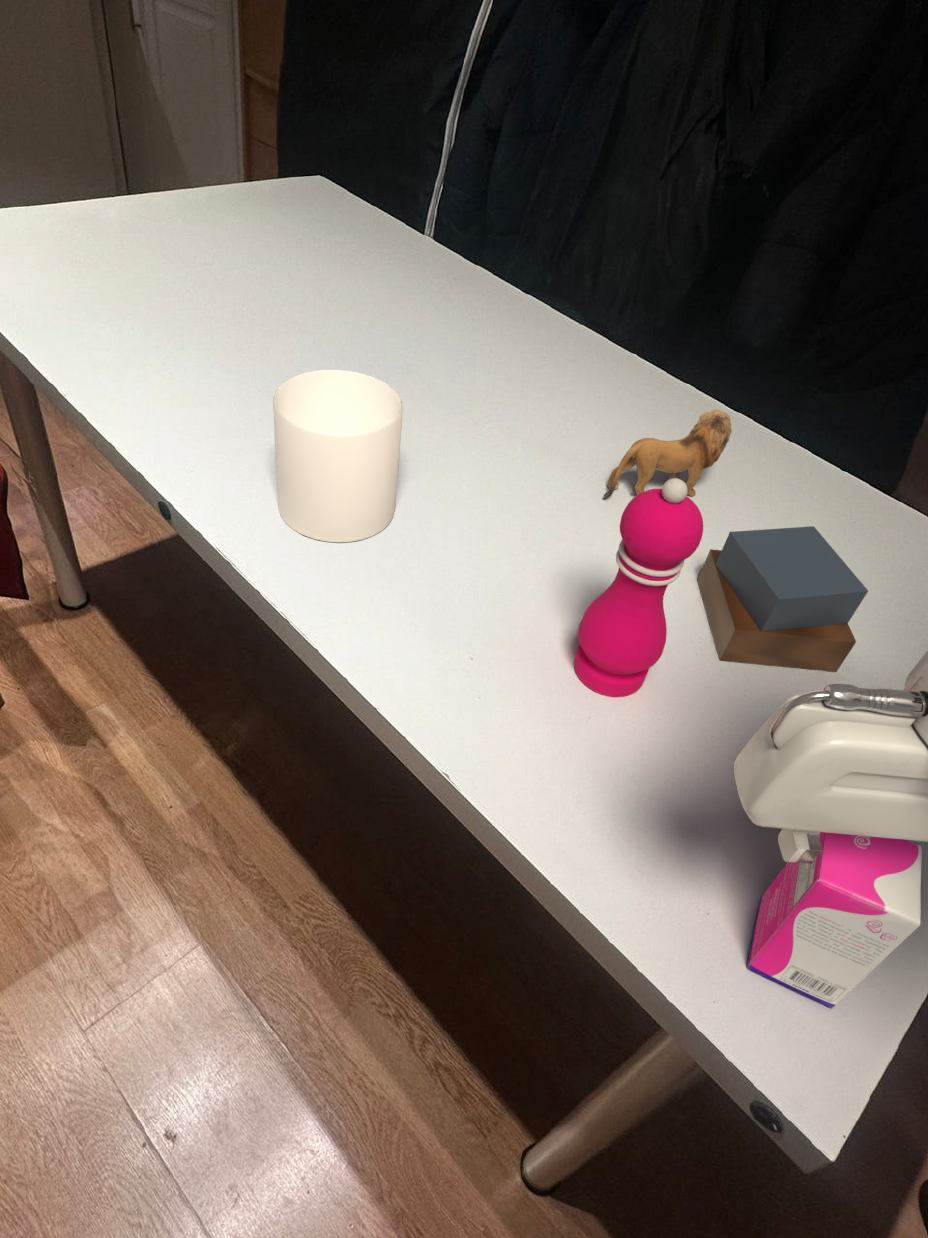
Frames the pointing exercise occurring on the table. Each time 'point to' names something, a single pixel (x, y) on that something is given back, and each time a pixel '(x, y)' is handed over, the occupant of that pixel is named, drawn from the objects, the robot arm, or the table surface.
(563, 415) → the table surface
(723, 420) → the lion figurine
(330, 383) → the cup
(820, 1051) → the table surface
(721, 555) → the top block
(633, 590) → the pepper mill
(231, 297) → the table surface
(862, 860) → the supplement box
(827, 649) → the base block
